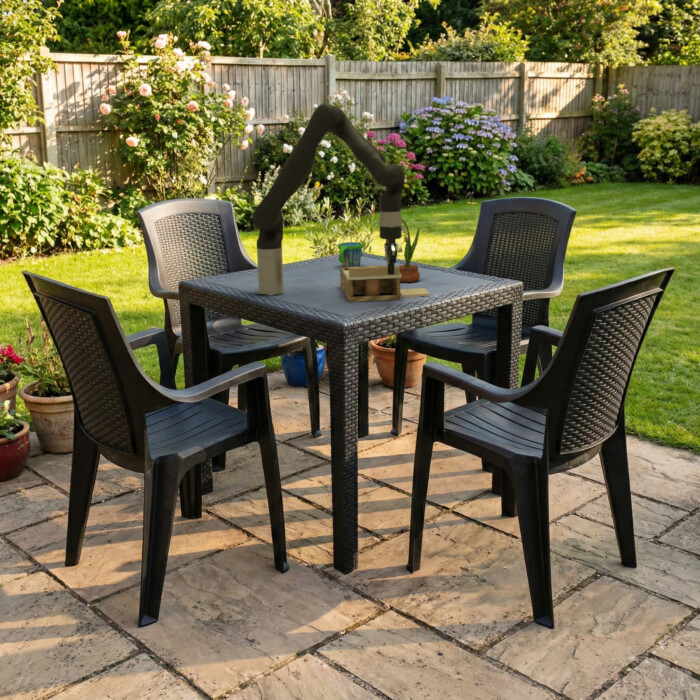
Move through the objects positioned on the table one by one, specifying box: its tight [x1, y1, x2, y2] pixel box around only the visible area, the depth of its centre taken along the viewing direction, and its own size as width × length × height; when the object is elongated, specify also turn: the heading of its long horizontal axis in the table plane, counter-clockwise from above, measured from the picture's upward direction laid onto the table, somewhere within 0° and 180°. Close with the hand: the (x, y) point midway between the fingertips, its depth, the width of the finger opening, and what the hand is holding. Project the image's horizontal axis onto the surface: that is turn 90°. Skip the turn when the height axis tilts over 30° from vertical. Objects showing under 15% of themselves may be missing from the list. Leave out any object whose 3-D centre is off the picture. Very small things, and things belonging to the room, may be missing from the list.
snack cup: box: [337, 241, 364, 268], centre depth 377 cm, size 16×10×10 cm
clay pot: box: [364, 279, 380, 296], centre depth 317 cm, size 6×6×7 cm
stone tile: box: [400, 287, 431, 298], centre depth 321 cm, size 10×10×1 cm
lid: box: [343, 265, 401, 280], centre depth 315 cm, size 19×13×4 cm
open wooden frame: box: [339, 265, 401, 303], centre depth 324 cm, size 18×28×8 cm, turn 7°
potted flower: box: [397, 217, 421, 283], centre depth 342 cm, size 12×10×25 cm
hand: (391, 274), depth 304 cm, fingers closed
